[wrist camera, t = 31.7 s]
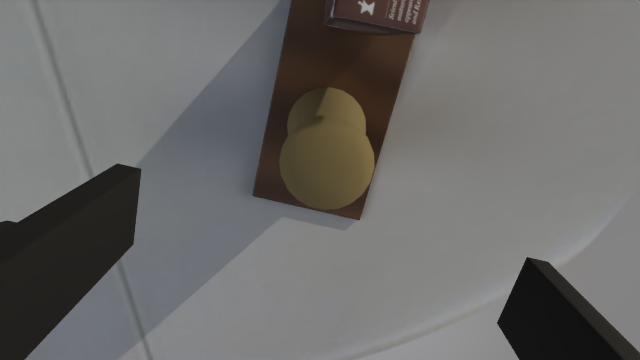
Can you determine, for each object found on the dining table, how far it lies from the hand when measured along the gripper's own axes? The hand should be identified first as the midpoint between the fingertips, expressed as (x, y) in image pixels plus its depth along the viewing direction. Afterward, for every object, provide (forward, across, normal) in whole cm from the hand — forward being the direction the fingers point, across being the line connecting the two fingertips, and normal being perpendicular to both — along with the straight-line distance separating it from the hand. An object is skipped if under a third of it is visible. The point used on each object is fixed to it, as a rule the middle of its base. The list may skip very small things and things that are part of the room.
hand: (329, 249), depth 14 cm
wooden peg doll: (+19, 0, 0) cm, 19 cm away
